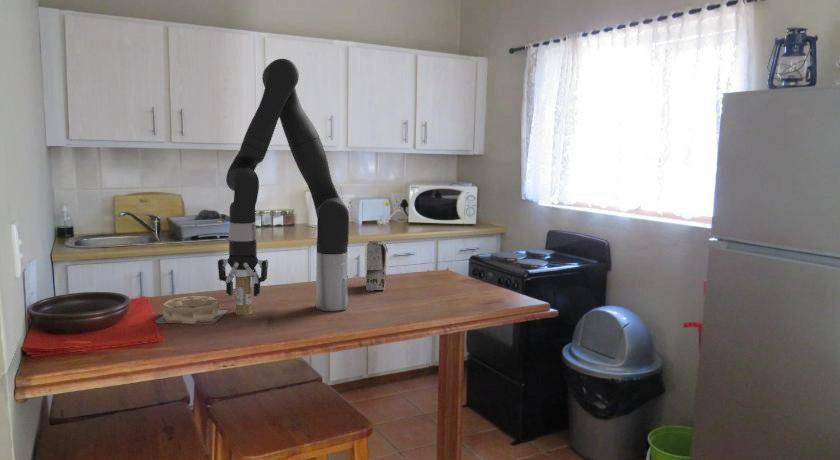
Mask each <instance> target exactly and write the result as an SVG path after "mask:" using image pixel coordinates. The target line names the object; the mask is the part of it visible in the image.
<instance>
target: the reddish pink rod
mask: <svg viewBox="0 0 840 460" xmlns="http://www.w3.org/2000/svg"><path fill="white" fill-rule="evenodd" d="M181 322H183V321H180V320H167V321H166V323H165V324H179V323H181ZM196 322H214V323H216V322H215V319H198V320H197V321H196Z"/></svg>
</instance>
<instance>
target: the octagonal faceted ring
mask: <svg viewBox="0 0 840 460" xmlns="http://www.w3.org/2000/svg"><path fill="white" fill-rule="evenodd" d="M219 310H220V300H219V299H216V298H214V297H211V296H202V295H200V296H198V295H197V296H194V295H190V296H184V297H177V298H171V299H169V300H167V301H165V303H163V304H162V316H163V318H164V319H166V320H180V321H183V322H181V323H198V322H196V321H197V320H198V319H214V318H215V317H217V316H218V315H219Z"/></svg>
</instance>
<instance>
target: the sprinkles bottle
mask: <svg viewBox="0 0 840 460" xmlns="http://www.w3.org/2000/svg"><path fill="white" fill-rule="evenodd" d="M234 278H235V289H234V290H235V291H234V292H235V295H234V296H235V314H236V315H240V316H246V315H247V316H248V315H251V314H252V313H253V312H252V285H251V284H252V277H250V275H249V273H248V271H247V270H236V271H235V276H234Z"/></svg>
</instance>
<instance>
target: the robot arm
mask: <svg viewBox="0 0 840 460" xmlns="http://www.w3.org/2000/svg"><path fill="white" fill-rule="evenodd" d="M299 76H300V74H299V70H298V68H297V66H296V64H295V63H294V62H293V61H292V60H290V59H287V58H278V59H275V60H272V61H271V62H270V63H269V64H268V65H267V66H266V67H265V68H264V70H263V72H262V84H263V86H264V91H263V94H262V97H261V100H260V102H259V105H258V107H257V109H256V111H255V113H254V115H253V117H252V119H251V121H250V123H249V125H248V128H247V129H246V132H245V135H244V137H243V139H242V143H241V145H240V148H239V151H238V153H237V154H236V156H235V157H234V159H233V161H232V162H231V164H230V166H229V168H228V170H227V173H226V177H225V178H226V179H225V181H226V182H225V183H226V185H227V186H228V188H229V189H230V190H231V191H233V192H234V194H233V202H231V203H230V205H229V225H228V226H229V228H228V258H225V259H224V258H219V259H218V260H217V271H218V279H219V281H223V282H225V285H226V290H225V291H226V294H227V295H228V296H230V297H231V296H233V295H234V281H233V279H234V278H235V271H236V270H247V271H248V273H249V275H250V277H251V280H252V281H253V282H254V283H253V296H254V297H258V295H259V294H260V293H261V283H262V282H265V281H266V280H267V279H268V267H269V261H268V259H263V260H262V259H259V258H258V255H257V252H258V251H257V249H258V248H257V244H258V243H257V238H258V237H257V223H256V204H257V202H258V201H257V200H258V196H259V189H260V182H259V176H258V174H257V172H255V170H256V168H257V167H258V166H259V165H258V164H260V163H262V162H263V161H264V159H265V158H266V155H267V152H268V149H269V146H270V143H271V141H272V138H273V135H274V132H275V130H276V127H277V124H278V121H279V119H280V124H281V127H282V130H283V133H284V135H285V138H286V141H287V144H288V147H289V149H290V152H291V155H292V157H293V160H294V162H295V164H296V166H297V168H298V171H299V172H300V174H301V176H302V178H303V180H304V182H305V183H306V185H307V188H308V189H309V192H310V195H311V198H312V201H313V205H314V210H315V214H316V215H315V216H316V219H317V220H316V223H317V227H316V230H317V231H316V232H317V233H316V235H317V236H316V268H315V269H316V276H315V277H316V278H315V280H316V285H315V287H316V293H315V294H316V295H315V296H316V297H315V303H316V305H315V307H316V309H317V310H319V311H324V312H338V311H346V310H347V308H348V305H349V304H348V298H349V297H348V296H349V291H348V289H349V276H348V246H349V237H350V236H349V234H350V233H349V231H350V213H349V209H348V207H347V206H346V205H345V203H344V202H343V201H342V198H341V197H340V196H339V193H338V191H337V189H336V187H335V185H334V182H333V179H332V175H331V171H330V166H329V162H328V158H327V155H326V151H325V148H324V146H323V143H322V140H321V138H320V135H319V133H318V131H317V129H316V127H315V126H314V124H313V122H312V121H311V119H310V118H309V117H308V115H307V114H306V111H304V109H303V107H302V104H301V103H300V99H299V96H298V93H297V89H296V86H297V85H298V82H299V78H300V77H299ZM228 265H229V266H230V268H231V270H230V272H229V273H228V274H227V273H226V267H227V266H228ZM257 265H259V268H260V275H259V274H258V271H257V268H256V266H257Z"/></svg>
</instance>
